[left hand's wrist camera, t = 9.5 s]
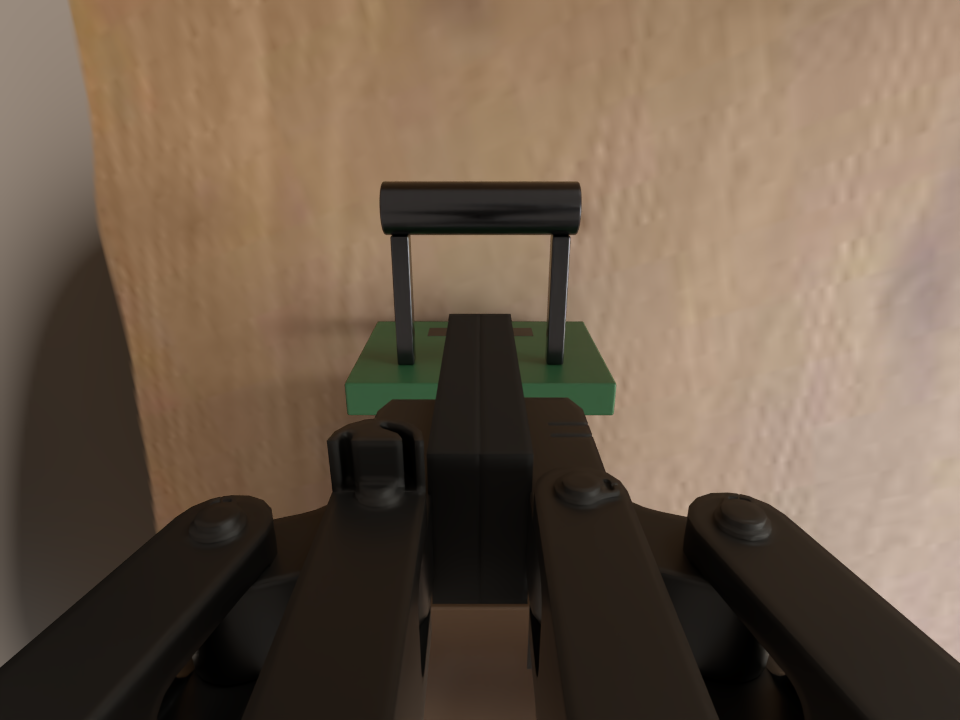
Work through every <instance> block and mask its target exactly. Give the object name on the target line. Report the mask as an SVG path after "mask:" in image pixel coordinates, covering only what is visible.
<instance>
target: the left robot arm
mask: <svg viewBox="0 0 960 720" xmlns="http://www.w3.org/2000/svg"><path fill="white" fill-rule="evenodd" d="M327 446H328V455H329V464H330V473H331V482H332V491H333V492H332V494H331V497H330V499H329V502H328V504H327V505H326V506H324V507H321V508H319V509H317V510H313V511H310V512H306V513H303V514H298V515H293V516H288V517H283V518H278V519H274V520H273V516H272V510H271V508H270V507H269V506H268V505H267V504H266V503H265V502H264V500H261V499H258V498H255V497H252V496H240V495H230V496H223V497H218V498H213V499H210V500H208V501H205V502H203V503H200V504H198V505H195V506H193V507H191V508H189V509H188V510H186V511H185V512H183V513H182V514H180V515H179V516H177V517H176V518H175V519H173V520H172V521H171V522H170V523H169V524H168V525H166V526H165V527H164V528H163V529H162V530H160V531H159V532H158V533H157V534H156V535H155V536H153V537H152V538H151V539H150V540H149V541H148V542H146V543H145V544H144V545H143V546H142V547H141V548H139V549H138V550H137V551H136V552H135V553H134V554H132V555H131V556H130V557H129V558H128V559H127V560H125V561H124V562H123V563H122V564H121V565H120V566H119V567H117V568H116V569H115V570H114V571H113V572H111V573H110V574H109V575H108V576H107V577H106V578H104V579H103V580H102V581H101V582H100V583H99V584H97V585H96V586H95V587H94V588H93V589H92V590H90V591H89V592H88V593H87V594H86V595H85V596H83V597H82V598H81V599H80V600H79V601H78V602H76V603H75V604H74V605H73V606H72V607H71V608H69V609H68V610H67V611H66V612H65V613H64V614H62V615H61V616H60V617H59V618H58V619H57V620H55V621H54V622H53V623H52V624H51V625H50V626H48V627H47V628H46V629H45V630H44V631H42V632H41V633H40V634H39V635H38V636H37V637H35V638H34V639H33V640H32V641H31V642H30V643H28V644H27V645H26V646H25V647H24V648H23V649H21V650H20V651H19V652H18V653H17V654H16V655H14V656H13V657H12V658H11V659H10V660H9V661H8V662H6V663H5V664H4V665H3V666H2V667H0V720H423V719H424V709H425V698H426V687H427V676H428V665H429V655H430V644H431V633H432V629H431V597H432V604H528V594H529V603H530V605H529V629H528V653H527V669H532V675H533V686H534V697H535V708H536V719H537V720H960V663H959V662H958V661H957V660H956V659H954V658H953V657H952V656H951V655H950V654H948V653H947V652H946V651H945V650H944V649H943V648H941V647H940V646H939V645H938V644H937V643H936V642H934V641H933V640H932V639H931V638H930V637H928V636H927V635H926V634H925V633H924V632H923V631H921V630H920V629H919V628H918V627H917V626H915V625H914V624H913V623H912V622H911V621H910V620H908V619H907V618H906V617H905V616H904V615H903V614H901V613H900V612H899V611H898V610H897V609H895V608H894V607H893V606H892V605H891V604H890V603H888V602H887V601H886V600H885V599H884V598H882V597H881V596H880V595H879V594H878V593H877V592H875V591H874V590H873V589H872V588H871V587H870V586H868V585H867V584H866V583H865V582H864V581H862V580H861V579H860V578H859V577H858V576H857V575H855V574H854V573H853V572H852V571H851V570H849V569H848V568H847V567H846V566H845V565H844V564H842V563H841V562H840V561H839V560H838V559H837V558H835V557H834V556H833V555H832V554H831V553H829V552H828V551H827V550H826V549H825V548H824V547H822V546H821V545H820V544H819V543H818V542H816V541H815V540H814V539H813V538H812V537H811V536H809V535H808V534H807V533H806V532H805V531H804V530H802V529H801V528H800V527H799V526H798V525H796V524H795V523H794V522H793V521H792V520H791V519H789V518H788V517H787V516H786V515H785V514H783V513H782V512H780V511H778V510H777V509H775V508H774V507H772V506H771V505H769V504H767V503H765V502H762V501H760V500H757V499H754V498H752V497H750V496H746V495H742V494H740V495H739V494H736V493H710V494H707V495H704V496H701V497H698V498H696V499H695V500H694V501H693V502H692V503H691V504H690V506H689V510H688V516H687V517H684V516H679V515H674V514H669V513H665V512H660V511H656V510H652V509H648V508H645V507H642V506H640V505H638V504H635V503H633V502H632V501H631V499H630V496H629V494H628V491H627V490H626V488H625V487H624V486H623V484H622V483H621V482H620V481H619V480H618V479H616V478H615V477H613V476H611V475H610V474H608V473H606V472H605V469H604V466H603V463H602V461H601V458H600V455H599V452H598V450H597V447H596V444H595V441H594V439H593V437H592V433H591V431H590V428H589V425H588V422H587V420H586V417H585V414H584V411H583V409H582V408H581V407H579V406H578V405H577V404H576V403H574V402H573V401H572V400H571V399H569V398H568V397H524V393H523V387H522V381H521V375H520V369H519V363H518V357H517V351H516V344H515V338H514V332H513V326H512V320H511V314H449V320H448V326H447V332H446V338H445V344H444V351H443V357H442V363H441V369H440V375H439V381H438V387H437V393H436V399H392V400H391V401H389V402H388V403H387V404H386V405H384V406H383V407H382V408H381V409H379V410H378V411H377V414H376V416H375V419H367V420H362V421H359V422H355V423H351V424H348V425H346V426H344V427H342V428H341V429H339V430H337V431H335V432H334V433H333V434H332V435H331V437H330V438H329V439H328V440H327Z"/></svg>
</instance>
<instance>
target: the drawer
mask: <svg viewBox="0 0 960 720" xmlns="http://www.w3.org/2000/svg"><path fill="white" fill-rule="evenodd" d="M581 206H582V198H581V187H580V184H579V182H382V184H381V188H380V219H381V225H382V230H383V232H384V234H385V235H392V236H391V238H390V239H391V256H392V274H393V291H394V309H395V322H378V323H377V324H376V326H375V328H374V330H373V332H372V334H371V336H370V338H369V340H368V341H367V343H366V345H365V347H364V349H363V351H362V353H361V355H360V356H359V358H358V360H357V362H356V364H355V366H354V368H353V370H352V371H351V373H350V375H349V377H348V379H347V381H346V383H345V394H346V404H347V413H348V415H376V414H377V411H378V410H379V409H381V408H382V407H383V406H384V405H386V404H387V403H388V402H389V401H391V400H392V399H436V393H437V387H438V381H439V375H440V369H441V363H442V357H443V351H444V344H445V338H446V332H447V326H448V322H414V305H413V283H412V260H411V238H410V235H551V240H550V262H549V285H548V307H547V322H512V326H513V332H514V338H515V344H516V351H517V357H518V363H519V369H520V375H521V381H522V387H523V393H524V397H568V398H569V399H571V400H572V401H573V402H574V403H576V404H577V405H578V406H579V407H581V408H582V409H583V411H584V414H585V415H613V413H614V404H615V394H616V383H615V381H614V379H613V377H612V375H611V373H610V372H609V370H608V368H607V366H606V364H605V362H604V360H603V358H602V357H601V355H600V353H599V351H598V349H597V347H596V345H595V343H594V341H593V340H592V338H591V336H590V334H589V332H588V330H587V328H586V326H585V325H584V323H583V322H566V308H567V291H568V274H569V256H570V239H571V238H570V236H569V235H576V234H577V233H578V230H579V226H580V220H581Z"/></svg>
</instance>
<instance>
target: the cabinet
mask: <svg viewBox="0 0 960 720" xmlns="http://www.w3.org/2000/svg"><path fill="white" fill-rule="evenodd" d="M529 605H530V603H529V594H528V604H432V597H431V629H432V633H431V644H430V655H429V665H428V676H427V687H426V698H425V709H424V719H423V720H537V719H536V708H535V697H534V686H533V675H532V669H527V653H528V629H529Z"/></svg>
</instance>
